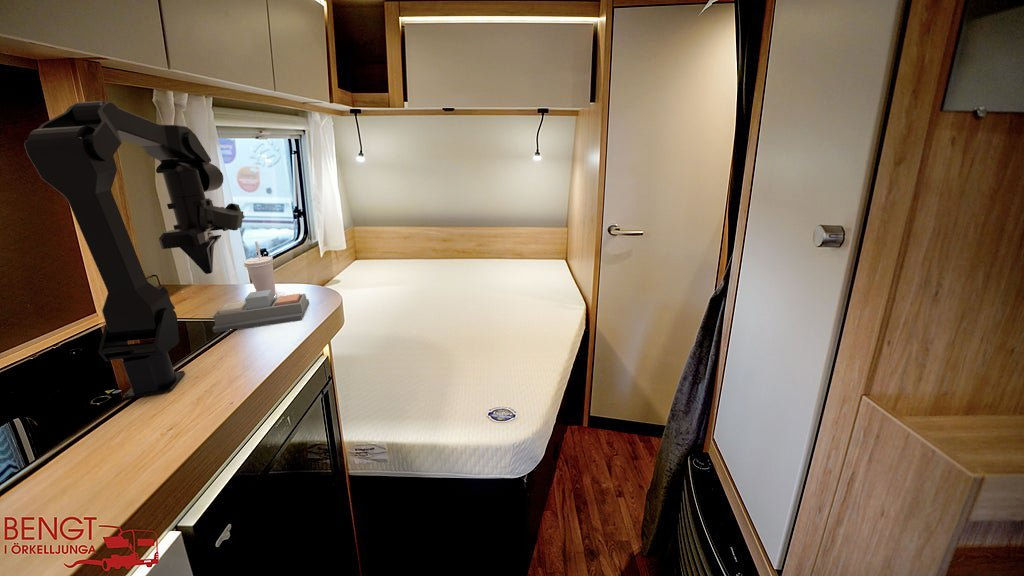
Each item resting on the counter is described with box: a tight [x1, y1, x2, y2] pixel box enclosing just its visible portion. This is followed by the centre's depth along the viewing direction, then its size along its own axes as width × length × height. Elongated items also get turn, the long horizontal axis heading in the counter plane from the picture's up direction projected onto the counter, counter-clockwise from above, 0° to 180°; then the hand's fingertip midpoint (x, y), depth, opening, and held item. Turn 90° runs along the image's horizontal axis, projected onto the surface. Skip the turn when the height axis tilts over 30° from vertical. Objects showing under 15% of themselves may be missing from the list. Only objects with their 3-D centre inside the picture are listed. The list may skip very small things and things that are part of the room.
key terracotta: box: [275, 293, 301, 306], centre depth 103 cm, size 4×4×2 cm
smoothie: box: [243, 241, 277, 296], centre depth 114 cm, size 6×6×14 cm
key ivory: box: [218, 300, 247, 314], centre depth 101 cm, size 4×4×2 cm
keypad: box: [212, 293, 310, 334], centre depth 102 cm, size 11×17×3 cm, turn 105°
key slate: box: [244, 290, 275, 310], centre depth 101 cm, size 4×4×2 cm
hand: (209, 273), depth 95 cm, fingers closed
